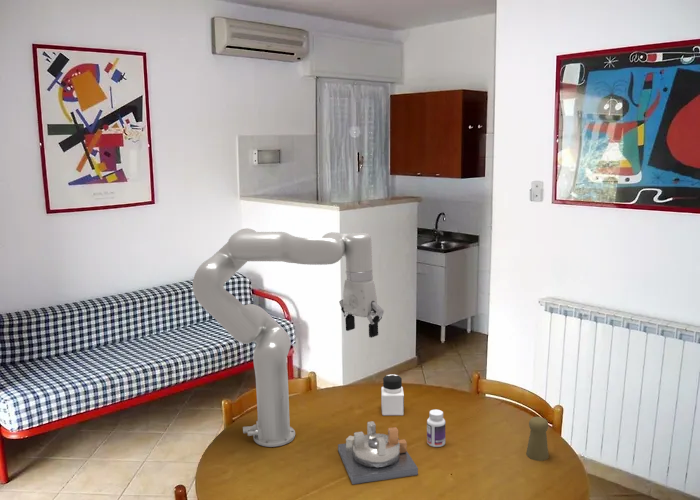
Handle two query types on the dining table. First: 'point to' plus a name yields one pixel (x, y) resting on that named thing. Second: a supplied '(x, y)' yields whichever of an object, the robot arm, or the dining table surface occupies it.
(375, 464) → the round disc with cubes
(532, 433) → the olive pawn
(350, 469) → the base plate
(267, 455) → the dining table surface
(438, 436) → the pill bottle
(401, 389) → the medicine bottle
